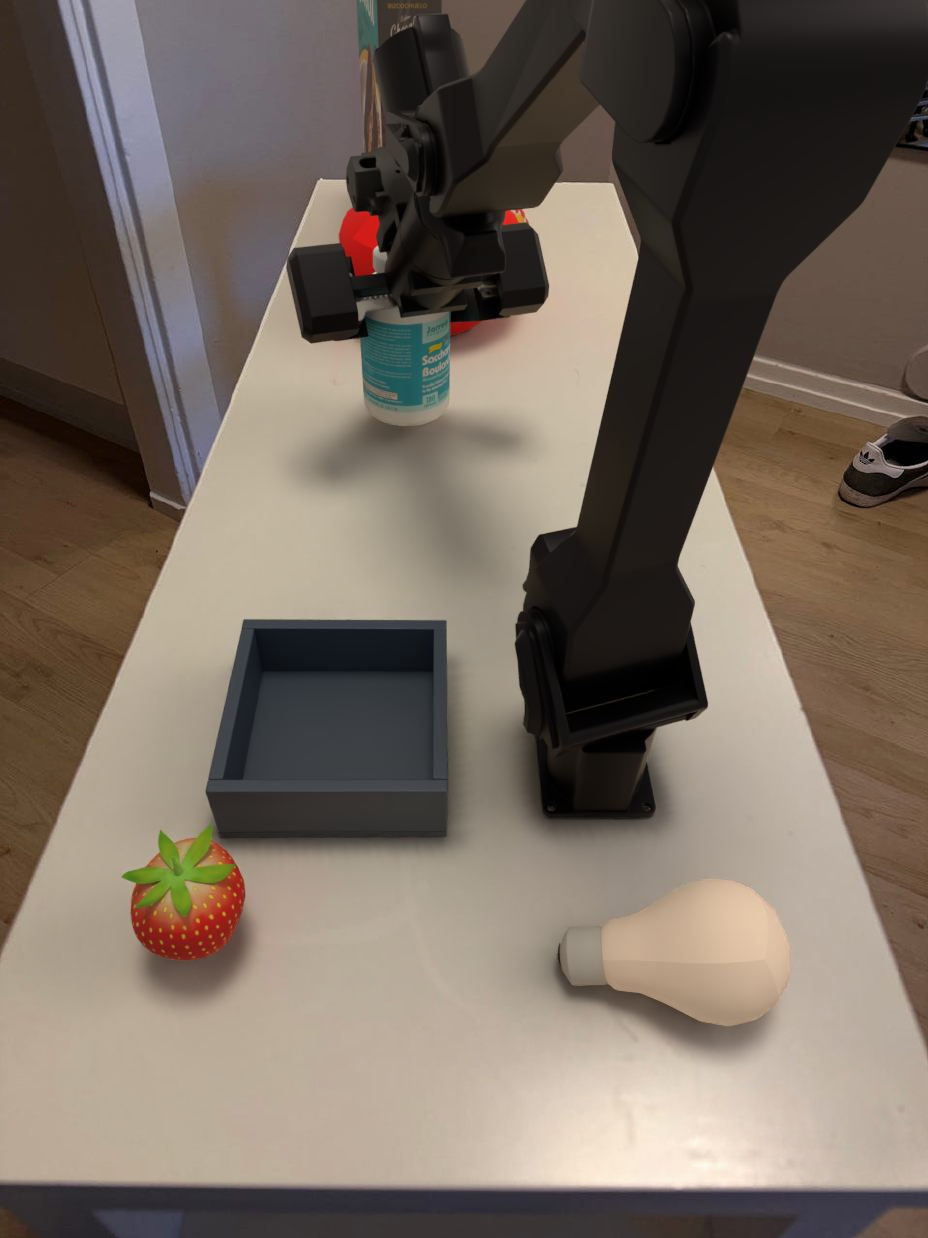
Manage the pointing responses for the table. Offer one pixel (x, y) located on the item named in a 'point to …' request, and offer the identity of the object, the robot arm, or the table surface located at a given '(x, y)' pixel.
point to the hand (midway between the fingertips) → (401, 322)
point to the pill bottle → (405, 363)
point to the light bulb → (689, 953)
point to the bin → (334, 731)
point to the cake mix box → (380, 15)
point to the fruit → (187, 898)
